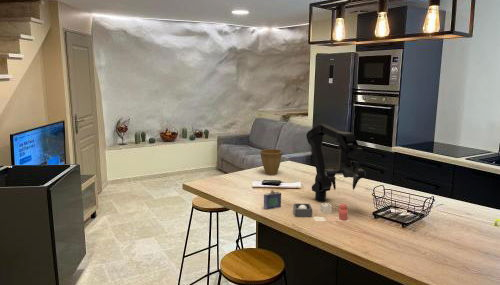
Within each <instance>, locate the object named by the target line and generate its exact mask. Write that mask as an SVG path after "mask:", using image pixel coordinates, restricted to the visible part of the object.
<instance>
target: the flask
mask: <svg viewBox="0 0 500 285" xmlns="http://www.w3.org/2000/svg"><path fill="white" fill-rule="evenodd" d="M281 207H282V192H280V191H274V189H270V192H268V193H267V192H266V193H264V194H263V210H272V209H277V208H278V209H279V208H281Z"/></svg>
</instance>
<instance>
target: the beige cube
mask: <svg viewBox="0 0 500 285" xmlns="http://www.w3.org/2000/svg"><path fill="white" fill-rule="evenodd" d="M320 212H322V214H324V215H326V214H328V215H329V214H332V213H333V206H332V205H331V204H330V203H329V202H325V203H324V202H322V203H320Z"/></svg>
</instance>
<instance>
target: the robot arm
mask: <svg viewBox="0 0 500 285" xmlns="http://www.w3.org/2000/svg"><path fill="white" fill-rule="evenodd" d="M305 136H306V137H305V138H306V140H307V143H308V145H310V147H311V148H312V154H313V160H314V167H315V170H316V171H315V172H316V173H315V174H316V175H315V177H314V183H313V184H312V186H311V190H312V192H315V195H314V200H315V201H316V202H319V203H324V202H325V203H326V201H327V192H329V191H331V188H332V186H333V190H335V191H336V186H337V185H336V179H337V177H336V176H337V175H338V176H339V175H341V176H342V175H343V177H344V178H345V179H346V178H352V190H353V191H354V190H355V189H356V187H357V184H358V182H359V181H360V180H361V179H363V178H365V177H366V174H367V173H366V171H365V170H364V169H363V168H359V167H358V166H353V163H354V162H355V163H357V164H363V163H364V162H365V160H366V159H367V158H366V157H367V155H366V153H365V151H363V148H361V147H360V146H359V143H358V141H357V139H356V137H355V134H354V133H353V132H350V131H342V130H339V129H337V128H334V127H332V126H330V125H328V124H327V123H321V124H317V126H315V127H313V128H312V129H310V130H308V131H307V133H306V134H305ZM324 136H328V137H330V138H332V139H334V140H335V141H336V143H337V144H339V145H338V146H336V147H337V148H336V149H338V150H339V159H338V162H339V164H338V165H339V166H338V170H335V169H334V168H326V165H325V159H324V152H323V148H322V144H323V141H324Z"/></svg>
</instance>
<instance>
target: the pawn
mask: <svg viewBox="0 0 500 285" xmlns="http://www.w3.org/2000/svg"><path fill="white" fill-rule="evenodd" d="M348 210H349V209H348V207H347V204H346V203H341V204H340V205H339V208H338V217H339V219H340V220H347V219H349V218H348V217H349V216H348V215H349V214H348V213H349V212H348Z"/></svg>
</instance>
